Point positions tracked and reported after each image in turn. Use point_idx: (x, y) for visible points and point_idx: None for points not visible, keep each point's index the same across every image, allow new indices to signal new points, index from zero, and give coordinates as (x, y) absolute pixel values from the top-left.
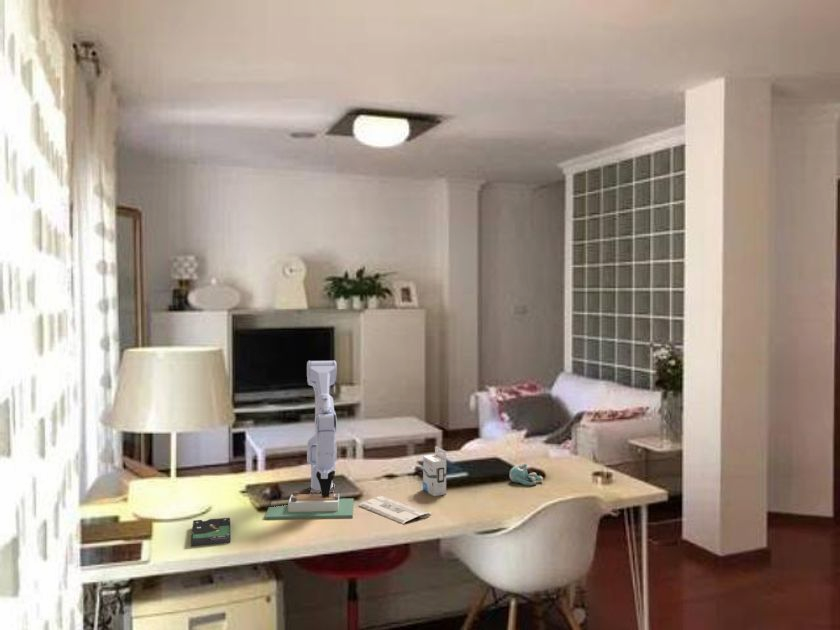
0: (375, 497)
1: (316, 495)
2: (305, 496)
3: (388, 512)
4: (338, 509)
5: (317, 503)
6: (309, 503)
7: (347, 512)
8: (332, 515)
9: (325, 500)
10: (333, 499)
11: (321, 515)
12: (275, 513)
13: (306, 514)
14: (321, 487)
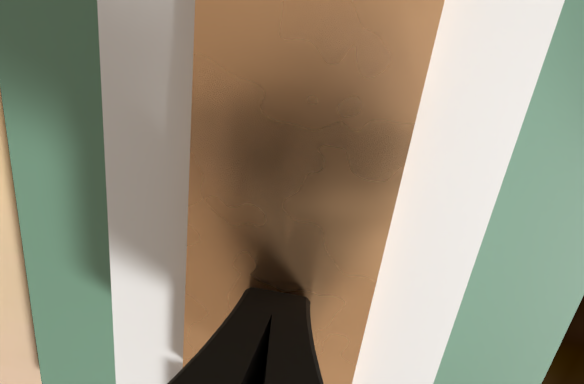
0: None
1: (319, 215)
2: (297, 39)
3: None
4: None
5: (113, 181)
6: (107, 76)
7: (106, 377)
8: (25, 260)
9: (174, 286)
10: None
11: (17, 165)
12: None
13: (40, 2)
14: (187, 375)
